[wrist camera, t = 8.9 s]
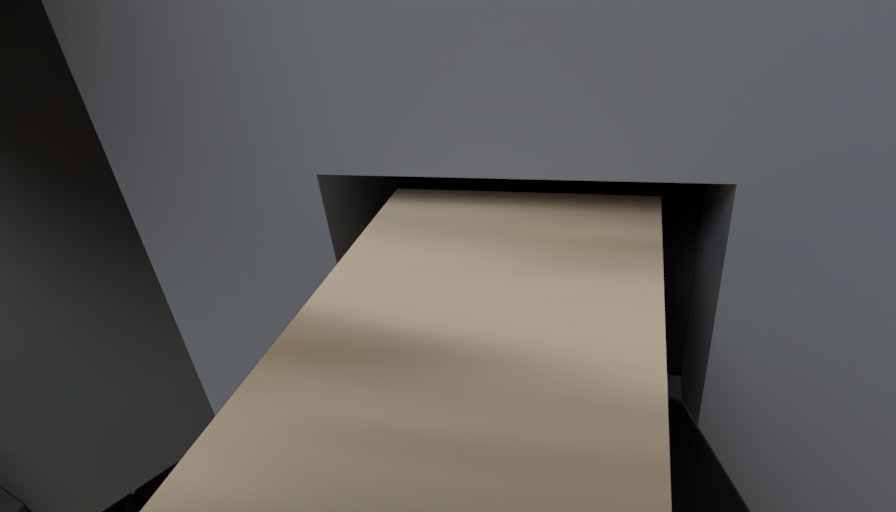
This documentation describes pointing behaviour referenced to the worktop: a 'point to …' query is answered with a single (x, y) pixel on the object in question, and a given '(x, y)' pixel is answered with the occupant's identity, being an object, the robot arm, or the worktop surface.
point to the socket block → (539, 158)
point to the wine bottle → (10, 503)
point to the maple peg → (459, 369)
